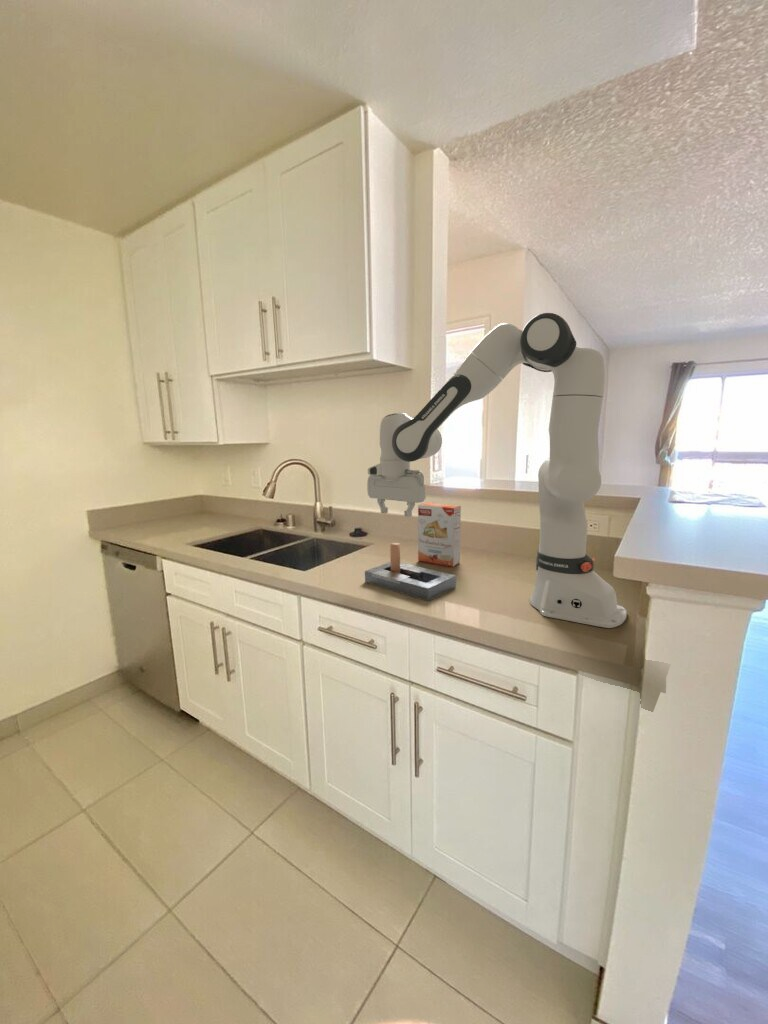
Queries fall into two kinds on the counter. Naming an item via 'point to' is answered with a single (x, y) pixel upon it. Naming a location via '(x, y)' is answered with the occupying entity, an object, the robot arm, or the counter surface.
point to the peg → (395, 557)
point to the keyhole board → (411, 580)
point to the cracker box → (439, 533)
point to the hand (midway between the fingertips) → (395, 514)
